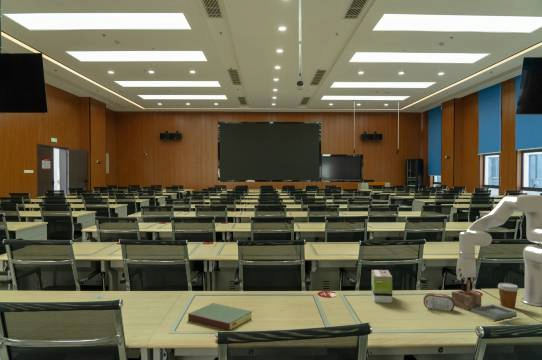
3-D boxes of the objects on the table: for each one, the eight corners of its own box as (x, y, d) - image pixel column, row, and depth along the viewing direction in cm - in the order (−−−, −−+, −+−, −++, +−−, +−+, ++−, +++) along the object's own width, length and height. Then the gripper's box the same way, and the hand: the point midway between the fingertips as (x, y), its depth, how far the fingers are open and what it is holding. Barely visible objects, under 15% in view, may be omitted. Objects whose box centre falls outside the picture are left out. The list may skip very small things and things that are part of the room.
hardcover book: (188, 321, 196) (188, 313, 196) (213, 310, 212) (213, 303, 212) (230, 332, 183) (230, 323, 183) (253, 319, 199) (253, 311, 199)
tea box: (371, 294, 239) (371, 269, 239) (388, 295, 238) (388, 269, 237) (373, 302, 224) (374, 275, 224) (392, 303, 223) (393, 276, 223)
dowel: (465, 305, 217) (466, 278, 217) (471, 306, 214) (471, 280, 214) (461, 305, 216) (461, 279, 215) (466, 307, 213) (467, 280, 212)
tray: (492, 308, 214) (492, 304, 214) (516, 316, 202) (516, 311, 202) (471, 313, 207) (471, 308, 207) (494, 321, 195) (494, 316, 195)
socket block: (464, 304, 222) (464, 289, 221) (481, 309, 213) (481, 294, 212) (451, 306, 217) (451, 291, 217) (467, 312, 208) (468, 297, 208)
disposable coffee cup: (521, 311, 211) (521, 288, 210) (501, 309, 213) (501, 287, 212) (514, 305, 220) (514, 283, 220) (494, 304, 222) (495, 282, 222)
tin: (454, 311, 209) (454, 295, 209) (454, 313, 207) (454, 297, 206) (423, 307, 216) (423, 291, 216) (423, 309, 213) (423, 293, 213)
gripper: (471, 252, 221) (471, 286, 222) (449, 255, 214) (449, 290, 215) (484, 255, 215) (483, 290, 215) (462, 258, 207) (461, 294, 208)
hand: (466, 289), depth 215 cm, fingers closed on dowel, 3 cm apart
